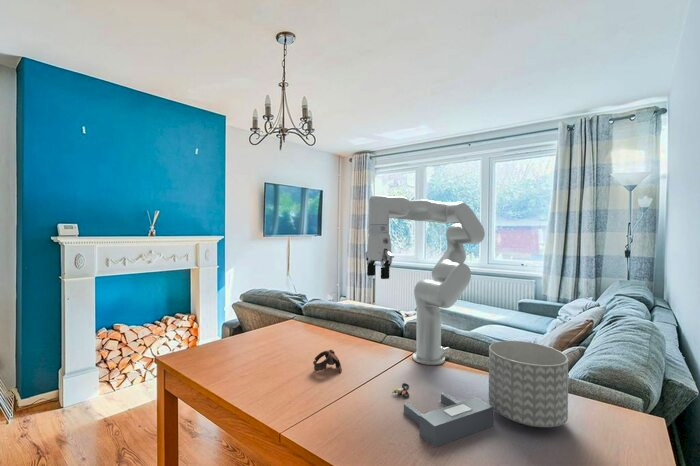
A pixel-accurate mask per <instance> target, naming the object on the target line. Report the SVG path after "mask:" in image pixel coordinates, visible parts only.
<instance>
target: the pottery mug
mask: <svg viewBox="0 0 700 466" xmlns="http://www.w3.org/2000/svg"><path fill="white" fill-rule="evenodd" d="M323 357H325V359H324V360H323V361H320V359H321V358H323ZM318 361H320V362H318ZM312 364H313V370H314V371H315V372H319V371H322V370H325V371H327V370H328V368H327V366H328V365H329V366H333V365H334V366H335V368H336V369H337V370H338V373H339V374H342V373H343V369H342V365H341V362H340V359H339V358H338V356H337V355H336V353H335V351H334V350H333V349H329V350H324V351H321V352H319V353H318V354H317V355H316V356H315V357H314V360H313V363H312Z"/></svg>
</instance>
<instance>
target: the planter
mask: <svg viewBox="0 0 700 466" xmlns="http://www.w3.org/2000/svg"><path fill="white" fill-rule="evenodd" d="M488 404H490V405H492V406H494V412H496V413H498V414H500V415H501V416H502V417H504V418H506V419H509V420H510V421H513V422H515V423H517V424H520V425H523V426H525V427H526V426H527V427H532V428H555V427H560V426H562V425H564V424H566V423H567V421H568V419H569V357H568V356H567V355H566V354H565V353H563V352H562V351H560V350H558V349H556V348H553V347H550V346H548V345H544V344H540V343H534V342H529V341H522V340H498V341H495V342H493V343H491V344H489V346H488Z"/></svg>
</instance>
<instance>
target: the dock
mask: <svg viewBox="0 0 700 466" xmlns="http://www.w3.org/2000/svg"><path fill="white" fill-rule="evenodd" d="M440 403H442V404H443V405H444V406H445V407H441V408H438V409H434V410H430V411H427V412H424V413H422V412H421V411H420V410H418V409H417V408H416V407H414V406H413V405H412V404H410V403H409V402H406V403H403V414H405V415H406V417H408V418H409V419H410V420H412V421H413V422H414V423H415V424H417V425H418V426H419V436H420V437H421V438H422V439H424V440H425V441H426V442H427V443H429V444H430V445H431V446H432V447H434V448H437V447H440V446H442V445H444V444H445V445H446V444H447V443H450V442H453V441H455V440H459V439H461V438H464V437H467V436H469V435H472V434H475V433H477V432H481V431H483V430H485V429H488V428H491V427H494V426H493V425H494V422H495V421H494V419H495V418H494V417H495V415H494V414H495V410H494V406H492V405H490V403H489V402H486V401H485V400H483V399H481V398H479V397H478V396H477V397H474V398H470V399H467V400H463V401H459V400H458V399H456V398H454V397H453V396H451V395H449V394H448V393H446V392H441V393H440Z"/></svg>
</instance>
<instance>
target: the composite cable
mask: <svg viewBox="0 0 700 466" xmlns="http://www.w3.org/2000/svg"><path fill="white" fill-rule="evenodd" d="M409 387H410V385H409V384H408V383H406V382H405V383H404V382H403V383H402V384H401V387H399V388H398V387H397V388H395V389H393V390H392V391H391V392H392V394H397V397H398V398H399V397H403V399H408V398H410V394H409V392H408V390H409Z"/></svg>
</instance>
